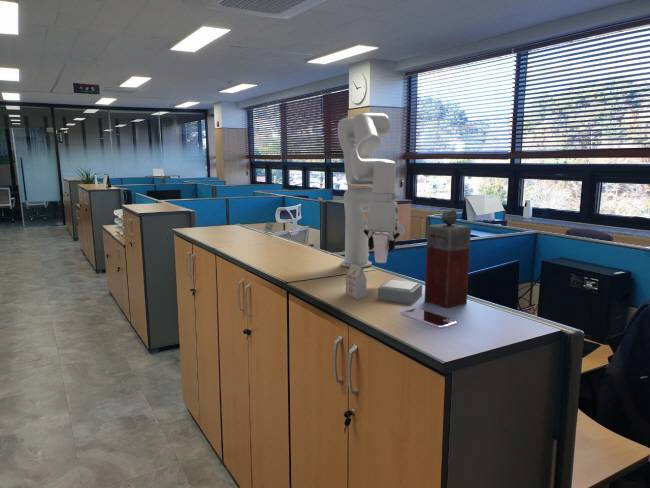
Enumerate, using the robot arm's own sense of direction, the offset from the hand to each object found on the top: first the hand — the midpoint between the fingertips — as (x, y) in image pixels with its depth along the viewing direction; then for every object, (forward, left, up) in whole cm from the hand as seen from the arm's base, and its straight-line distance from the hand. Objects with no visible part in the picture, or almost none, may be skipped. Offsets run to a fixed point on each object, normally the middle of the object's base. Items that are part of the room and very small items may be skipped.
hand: (381, 249), depth 162 cm
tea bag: (+17, -2, -13) cm, 21 cm away
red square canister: (+11, +24, -12) cm, 29 cm away
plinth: (+12, +11, -12) cm, 20 cm away
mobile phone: (+29, +24, -13) cm, 39 cm away
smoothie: (0, 0, -4) cm, 4 cm away
